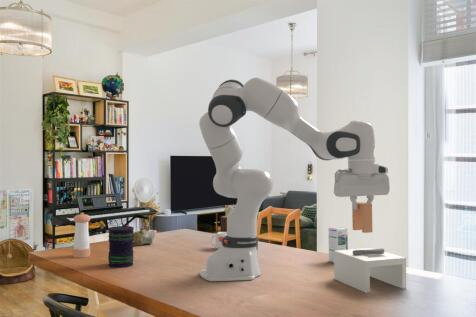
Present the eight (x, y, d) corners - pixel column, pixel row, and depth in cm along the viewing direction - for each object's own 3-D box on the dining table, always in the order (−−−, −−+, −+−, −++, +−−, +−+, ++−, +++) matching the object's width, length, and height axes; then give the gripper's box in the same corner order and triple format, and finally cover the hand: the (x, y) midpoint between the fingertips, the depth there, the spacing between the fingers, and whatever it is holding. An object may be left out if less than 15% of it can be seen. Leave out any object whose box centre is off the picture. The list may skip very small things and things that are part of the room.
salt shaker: (78, 258, 180) (79, 214, 181) (69, 256, 185) (69, 212, 185) (93, 255, 186) (94, 212, 186) (84, 253, 190) (84, 211, 191)
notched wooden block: (364, 232, 139) (364, 204, 139) (352, 229, 146) (352, 202, 146) (372, 232, 140) (372, 203, 140) (359, 229, 146) (359, 201, 147)
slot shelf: (365, 292, 133) (365, 256, 133) (334, 278, 150) (334, 246, 150) (406, 288, 139) (406, 252, 139) (371, 275, 155) (371, 243, 156)
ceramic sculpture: (157, 228, 212) (127, 231, 205) (158, 245, 212) (128, 249, 205) (151, 225, 222) (123, 229, 215) (152, 242, 222) (123, 246, 215)
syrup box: (337, 263, 173) (337, 228, 174) (328, 261, 179) (328, 226, 179) (348, 262, 176) (348, 227, 176) (338, 259, 181) (338, 226, 182)
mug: (236, 248, 205) (236, 232, 205) (227, 251, 198) (227, 234, 198) (215, 246, 211) (215, 230, 211) (206, 249, 204) (206, 232, 204)
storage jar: (103, 265, 169) (103, 227, 169) (124, 261, 176) (125, 225, 176) (116, 269, 162) (117, 230, 162) (138, 265, 169) (138, 227, 169)
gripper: (340, 169, 137) (340, 211, 136) (392, 168, 143) (392, 208, 143) (329, 169, 143) (330, 209, 142) (380, 168, 149) (380, 206, 149)
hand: (362, 209), depth 143 cm, fingers closed on notched wooden block, 3 cm apart
